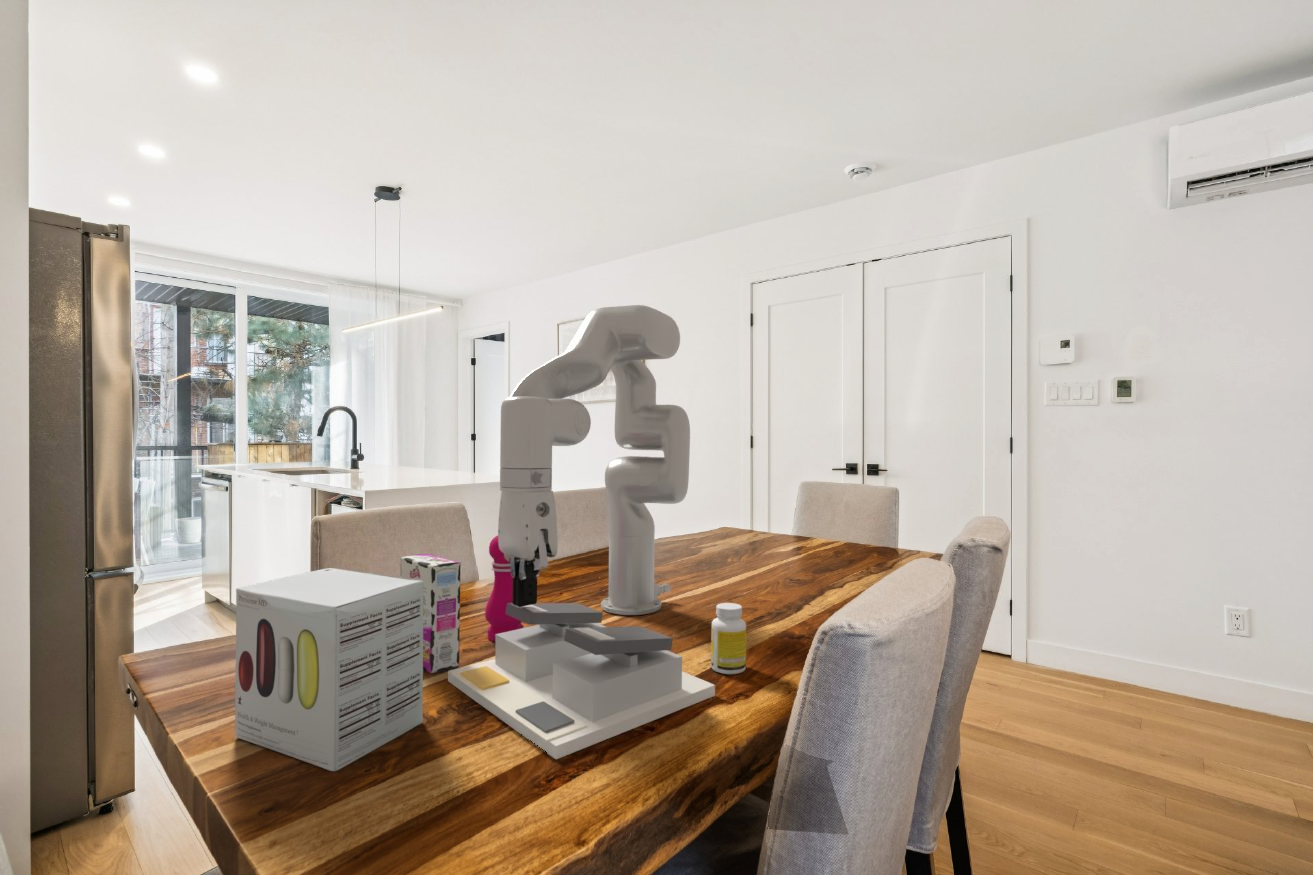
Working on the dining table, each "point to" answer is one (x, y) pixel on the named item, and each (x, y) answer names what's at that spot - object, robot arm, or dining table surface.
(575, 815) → the dining table surface
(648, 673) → the switch unit
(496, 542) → the pepper mill
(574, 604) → the marked switch
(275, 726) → the supplement box
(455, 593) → the candy bar box
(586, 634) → the plain switch
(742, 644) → the supplement bottle
